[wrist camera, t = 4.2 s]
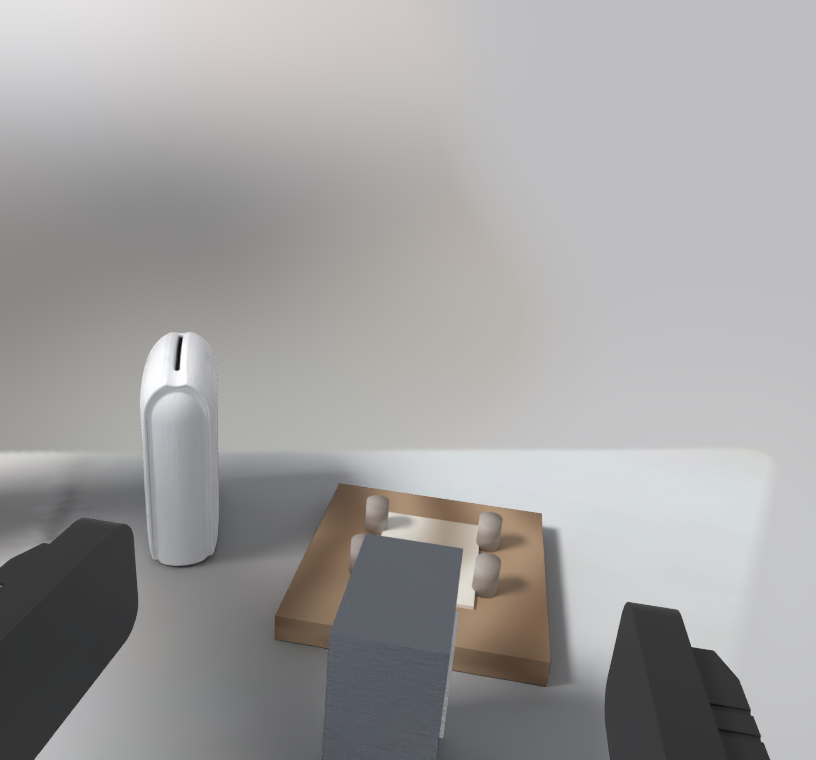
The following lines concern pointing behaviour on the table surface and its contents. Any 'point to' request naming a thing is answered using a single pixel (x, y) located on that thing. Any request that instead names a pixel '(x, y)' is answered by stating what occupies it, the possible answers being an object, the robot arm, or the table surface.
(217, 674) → the table surface
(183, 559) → the photo printer
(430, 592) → the block
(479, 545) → the pin tray
